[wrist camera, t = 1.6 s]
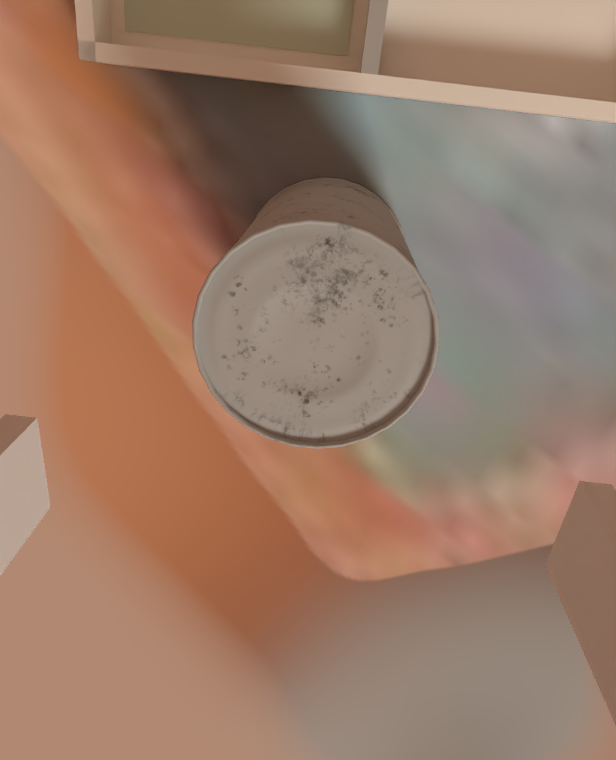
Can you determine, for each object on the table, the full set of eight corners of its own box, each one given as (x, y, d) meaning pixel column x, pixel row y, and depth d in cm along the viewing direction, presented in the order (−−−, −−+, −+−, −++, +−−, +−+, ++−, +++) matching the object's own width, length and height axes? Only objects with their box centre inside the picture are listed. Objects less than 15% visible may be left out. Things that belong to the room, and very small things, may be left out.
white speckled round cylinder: (439, 273, 32) (489, 362, 21) (315, 366, 35) (301, 485, 24) (336, 138, 29) (330, 157, 18) (211, 252, 32) (140, 329, 21)
